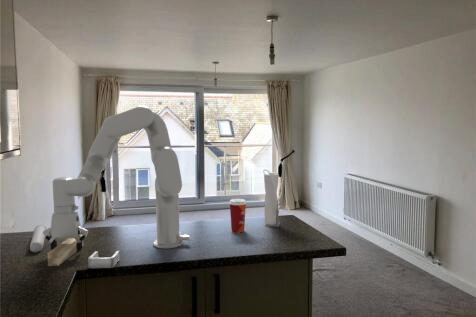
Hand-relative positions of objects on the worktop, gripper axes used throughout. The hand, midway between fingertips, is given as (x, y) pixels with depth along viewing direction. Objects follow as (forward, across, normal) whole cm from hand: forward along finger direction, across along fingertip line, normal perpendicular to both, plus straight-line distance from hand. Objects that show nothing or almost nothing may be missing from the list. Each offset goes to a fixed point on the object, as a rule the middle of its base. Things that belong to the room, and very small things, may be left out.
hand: (66, 251), depth 149 cm
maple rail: (+2, 0, 0) cm, 2 cm away
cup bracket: (+1, -18, +9) cm, 20 cm away
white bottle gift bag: (+2, -85, -41) cm, 94 cm away
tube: (+2, +18, -14) cm, 23 cm away
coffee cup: (+2, -68, -30) cm, 74 cm away
